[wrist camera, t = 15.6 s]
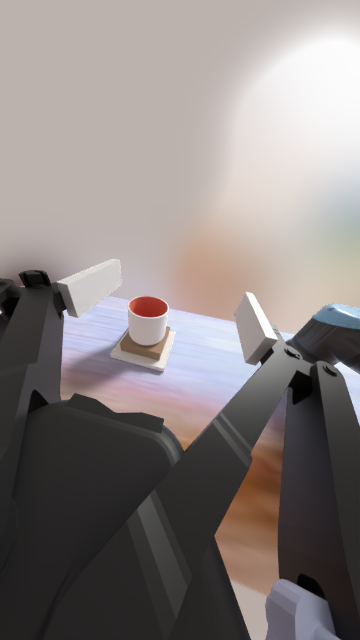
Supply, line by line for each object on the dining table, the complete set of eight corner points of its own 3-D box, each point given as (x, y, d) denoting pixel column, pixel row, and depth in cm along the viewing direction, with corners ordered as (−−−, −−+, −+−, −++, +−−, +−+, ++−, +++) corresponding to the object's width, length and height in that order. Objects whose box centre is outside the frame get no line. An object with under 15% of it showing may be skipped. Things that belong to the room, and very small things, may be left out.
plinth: (175, 334, 49) (177, 325, 47) (163, 372, 37) (165, 362, 35) (134, 323, 50) (134, 313, 47) (110, 357, 38) (108, 346, 35)
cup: (150, 354, 36) (153, 324, 30) (121, 336, 38) (118, 306, 32) (170, 332, 43) (176, 305, 37) (144, 319, 46) (145, 291, 40)
